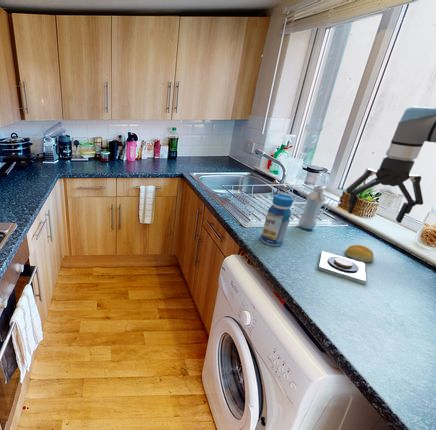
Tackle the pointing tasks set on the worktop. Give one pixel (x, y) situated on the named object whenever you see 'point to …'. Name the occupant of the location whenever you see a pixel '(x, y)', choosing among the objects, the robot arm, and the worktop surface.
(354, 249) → the bread roll
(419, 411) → the worktop surface
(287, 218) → the beverage bottle
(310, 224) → the plastic bottle
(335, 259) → the push button
